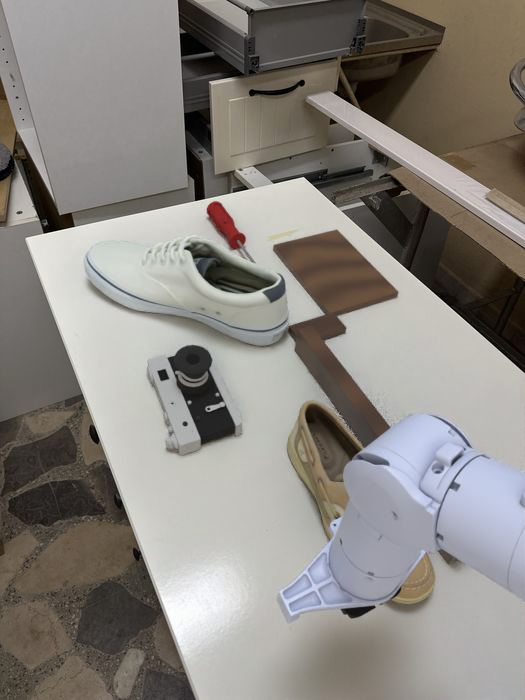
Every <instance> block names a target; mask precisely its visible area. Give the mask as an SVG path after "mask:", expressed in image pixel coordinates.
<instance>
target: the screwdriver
mask: <svg viewBox="0 0 525 700" xmlns="http://www.w3.org/2000/svg"><path fill="white" fill-rule="evenodd" d="M206 215H208V217H209V218H210V219H211V221H212V223H213V224H214V225H215V227H216V228H217V230H218V231H220V232H221V233H223V234H224V235H225V237H226V238H227V239H228V243H229V246H230V248H232V249H241V250H242V251H243V253H244V254H245V255H246V257H247V258H248V260H249V261H250V262H253V263H255V264H257V263H256V261H255V260H254V259H253V256H251V255H250V253H249V252H248V250H247V249H246V248H245V246H244V245H245V244H246V241H247V237H246V235H245V234H244V233H242V232H240V231H239V230H238V228H237V227H236V223H235V221H234V219H233V217H232V216H231V214H230V213H229V211H227V210H226V208H225V207H224V205H223V204H222V202H220V201H212V202H210V203H209V204H207V207H206Z"/></svg>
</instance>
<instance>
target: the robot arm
mask: <svg viewBox="0 0 525 700" xmlns="http://www.w3.org/2000/svg"><path fill="white" fill-rule="evenodd" d="M390 427H391V428H390V429H388V430H387V431H386V432H385V433H383V434H382V435H381V436H379V437H378V438H377V439H376V440H374V441H373V442H372V443H370V444H369V445H368V446H367V447H364V449H363V450H362V451H360V452H359V453H358V454H356V455H355V456H354V457H353V459H352V461H350V462H349V463H347V464H346V466H345V468H344V471H343V480H344V485H345V488H346V491H347V494H348V496H349V498H350V499H349V501H348V504H347V507H346V509H345V512H344V514H343V516H342V517H340V518H338V519H336V520H334V521H332V522H331V523H330V526H329V531H330V533H331V535H332V539H331V540H328V542H327V544H326V545H325V546H324V547H323V548H322V549H321V550H320V552H318V553H317V554H316V556H315V557H313V559H312V560H311V561H310V563H308V564H307V566H306V567H305V568H304V569H303V570H302V571H301V572H300V574H299V575H297V576H296V578H295V579H293V581H292V582H290V583H289V584H287V585H286V586H284V587H283V588H281V589H279V590H278V592H277V596H276V602H277V604H278V606H279V608H280V611H281V613H282V614H283V616H284V618H285V621H286V623H287V624H288V625H290V624H292V623H294V622H296V621H297V620H299V619H300V617H301V615H304V614H307V613H314V612H323V611H332V610H333V611H334V610H340V611H341V613H342V614H343V615H345V616H347V617H348V618H349V619H350V620H352V619H357V618H358V619H359V618H361V617H363V616H364V615H366V614H368V613H369V612H371V611H373V610H375V609H376V608H377V606H382V605H384V604H385V603H387V602H389V601H392V600H391V599H393V598H395V597H396V596H398V594H399V593H400V591H401V588H402V584H403V583H404V581H405V580H406V579H407V577H408V576H409V574H410V573H411V572H412V570H413V569H414V568H415V566H416V565H417V564H418V562H419V561H420V560H421V558H422V557H423V556H424V554H425V553H426V552H427V554H430V553H431V554H436V553H437V551H438V550H441V549H443V550H444V551H446V552H447V553H449V554H451V555H452V556H454V557H455V558H457V559H456V560H458V561H460V562H461V563H463V564H464V565H466V566H468V567H469V568H471V569H472V570H474V571H476V572H478V573H479V574H480V575H483V576H484V577H485V578H487V579H489V580H490V581H492V582H493V583H495V584H496V585H498V586H499V587H501V588H502V589H504V590H506V591H507V592H509V593H511V594H512V595H514V596H515V597H517V598H518V599H520V600H522V602H525V471H524V470H521V469H519V468H517V467H515V466H513V465H510V464H508V463H507V462H504V461H501V460H499V459H497V458H495V457H493V456H490V455H488V454H486V453H483V452H482V451H479V450H477V449H475V448H474V446H473V444H472V442H471V441H470V439H469V437H468V436H467V435H466V434H465V433H464V431H462V429H461V428H460V427H459V426H457V425H456V424H454V422H452V421H451V420H449V419H447V418H446V417H443V416H441V415H438V414H435V413H422V412H415V413H414V414H413V413H409V414H407V415H405V416H404V417H402V418H401V419H400V420H399V421H397V422H396V423H395V424H393V425H392V426H390Z"/></svg>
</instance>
